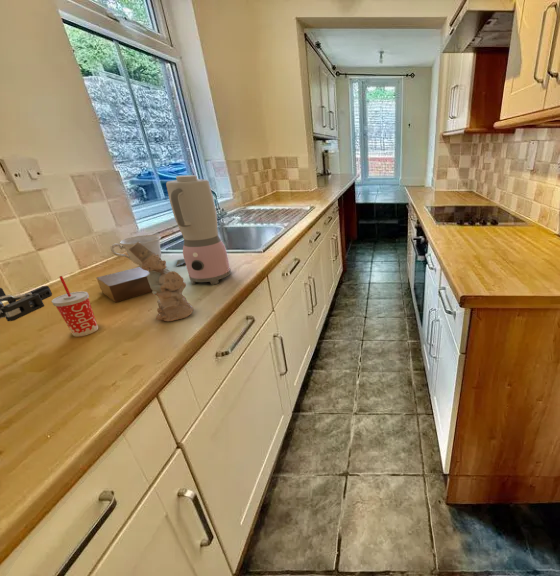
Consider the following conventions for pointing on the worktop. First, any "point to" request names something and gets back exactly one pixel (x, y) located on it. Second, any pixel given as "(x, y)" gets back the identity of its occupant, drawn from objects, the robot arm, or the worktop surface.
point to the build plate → (181, 262)
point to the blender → (198, 229)
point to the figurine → (163, 285)
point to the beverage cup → (76, 311)
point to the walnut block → (125, 284)
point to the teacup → (147, 240)
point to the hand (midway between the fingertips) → (25, 291)
